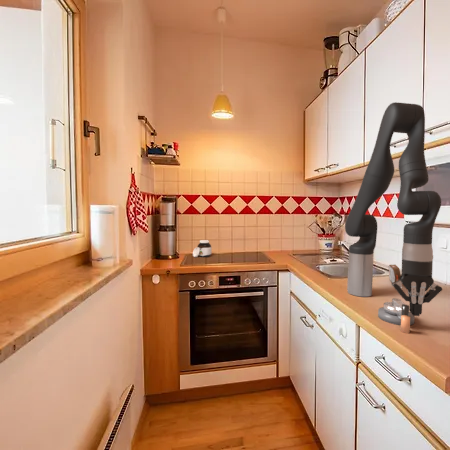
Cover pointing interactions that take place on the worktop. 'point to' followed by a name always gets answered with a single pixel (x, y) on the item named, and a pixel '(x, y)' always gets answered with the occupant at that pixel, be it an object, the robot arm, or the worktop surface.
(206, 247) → the spread jar
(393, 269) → the tin
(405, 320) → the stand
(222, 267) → the worktop surface
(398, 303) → the dial
